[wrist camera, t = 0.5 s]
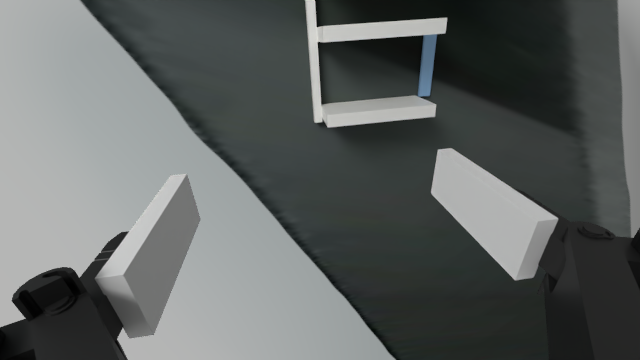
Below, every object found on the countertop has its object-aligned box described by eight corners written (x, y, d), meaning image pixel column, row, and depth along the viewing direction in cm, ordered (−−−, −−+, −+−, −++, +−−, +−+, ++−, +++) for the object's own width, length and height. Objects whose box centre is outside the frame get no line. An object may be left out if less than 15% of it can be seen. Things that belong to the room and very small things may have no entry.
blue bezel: (423, 32, 36) (425, 32, 36) (435, 31, 36) (437, 31, 36) (417, 96, 40) (418, 96, 39) (428, 95, 40) (429, 95, 40)
